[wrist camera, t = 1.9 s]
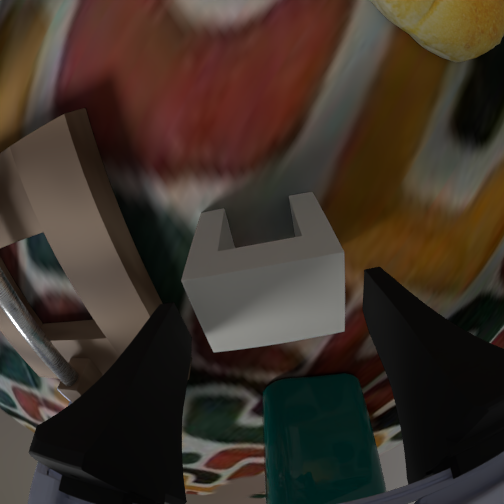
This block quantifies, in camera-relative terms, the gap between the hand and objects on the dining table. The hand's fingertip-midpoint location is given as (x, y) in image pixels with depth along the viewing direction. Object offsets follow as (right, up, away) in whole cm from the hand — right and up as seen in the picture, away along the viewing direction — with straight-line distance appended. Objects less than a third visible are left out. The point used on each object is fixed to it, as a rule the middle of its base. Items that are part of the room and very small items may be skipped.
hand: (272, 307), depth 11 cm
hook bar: (-15, -2, +3) cm, 15 cm away
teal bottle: (+4, -12, +14) cm, 19 cm away
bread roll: (+8, +16, -3) cm, 18 cm away
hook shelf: (-15, 0, +6) cm, 16 cm away
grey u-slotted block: (0, +3, +5) cm, 5 cm away
